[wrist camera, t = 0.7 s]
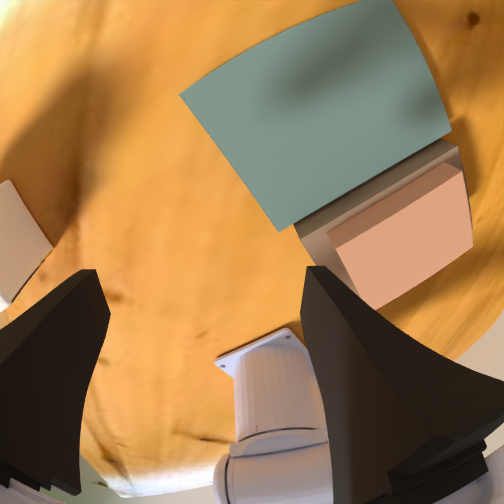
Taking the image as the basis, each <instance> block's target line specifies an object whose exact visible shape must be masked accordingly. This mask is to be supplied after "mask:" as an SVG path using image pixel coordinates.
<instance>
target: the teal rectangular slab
mask: <svg viewBox="0 0 504 504" xmlns="http://www.w3.org/2000/svg"><path fill="white" fill-rule="evenodd" d="M179 96H180V97H181V98H182V100H183V101H184V102H185V104H186V105H187V106H188V107H189V109H190V110H191V111H192V113H193V114H194V115H195V117H196V118H197V119H198V121H199V122H200V123H201V125H202V126H203V127H204V129H205V130H206V131H207V133H208V134H209V135H210V137H211V138H212V140H213V141H214V142H215V144H216V145H217V146H218V148H219V149H220V150H221V152H222V153H223V155H224V156H225V157H226V159H227V160H228V161H229V163H230V164H231V166H232V167H233V168H234V170H235V171H236V172H237V174H238V175H239V177H240V178H241V179H242V181H243V182H244V184H245V185H246V186H247V188H248V189H249V191H250V192H251V194H252V195H253V196H254V198H255V199H256V201H257V202H258V203H259V205H260V206H261V208H262V209H263V211H264V212H265V213H266V215H267V216H268V218H269V219H270V221H271V222H272V224H273V225H274V226H275V228H276V229H277V231H278V232H280V231H282V230H283V229H285V228H287V227H288V226H290V225H292V224H293V223H295V222H297V221H299V220H300V219H302V218H304V217H305V216H307V215H309V214H310V213H312V212H314V211H316V210H317V209H319V208H321V207H322V206H324V205H326V204H327V203H329V202H331V201H333V200H334V199H336V198H338V197H339V196H341V195H343V194H345V193H346V192H348V191H350V190H351V189H353V188H355V187H356V186H358V185H360V184H362V183H363V182H365V181H367V180H368V179H370V178H372V177H374V176H375V175H377V174H379V173H380V172H382V171H384V170H386V169H387V168H389V167H391V166H392V165H394V164H396V163H398V162H399V161H401V160H403V159H404V158H406V157H408V156H410V155H411V154H413V153H415V152H416V151H418V150H420V149H422V148H423V147H425V146H427V145H428V144H430V143H432V142H434V141H435V140H437V139H439V138H441V137H442V136H444V135H446V134H447V133H449V132H451V131H452V129H451V126H450V123H449V120H448V117H447V113H446V111H445V108H444V105H443V102H442V99H441V97H440V94H439V91H438V89H437V86H436V84H435V81H434V79H433V76H432V74H431V72H430V69H429V67H428V65H427V63H426V60H425V58H424V56H423V54H422V52H421V50H420V48H419V46H418V44H417V42H416V40H415V38H414V36H413V34H412V32H411V31H410V29H409V27H408V25H407V23H406V22H405V20H404V18H403V16H402V15H401V13H400V11H399V10H398V8H397V7H396V5H395V3H394V2H393V0H362V1H358V2H355V3H352V4H349V5H346V6H343V7H341V8H338V9H335V10H332V11H330V12H327V13H325V14H322V15H320V16H317V17H315V18H312V19H310V20H308V21H305V22H303V23H301V24H298V25H296V26H294V27H292V28H290V29H288V30H285V31H283V32H281V33H279V34H277V35H275V36H273V37H271V38H269V39H267V40H265V41H264V42H262V43H260V44H258V45H256V46H254V47H252V48H251V49H249V50H247V51H245V52H243V53H242V54H240V55H238V56H237V57H235V58H233V59H232V60H230V61H228V62H227V63H225V64H223V65H222V66H220V67H219V68H217V69H215V70H214V71H212V72H211V73H209V74H208V75H206V76H205V77H203V78H202V79H200V80H199V81H197V82H196V83H194V84H193V85H192V86H190V87H189V88H187V89H186V90H184V91H183V92H182V93H180V94H179Z"/></svg>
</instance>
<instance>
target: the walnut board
mask: <svg viewBox="0 0 504 504" xmlns="http://www.w3.org/2000/svg"><path fill="white" fill-rule="evenodd" d="M443 162H445V163H447V164H449V165H451V166H453V167H455V168H457V169H459V170H461V171H462V173H463V178H464V183H465V188H466V194H467V199H468V206H469V213H470V220H471V229H472V230H473V225H472V217H471V209H470V203H469V196H468V191H467V185H466V180H465V175H464V170H463V166H462V161H461V157H460V153H459V149H458V146H457V145H455V144H452V143H450V142H447V141H445V140H442V139H437V140H435V141H434V142H432V143H430V144H428V145H427V146H425V147H423V148H422V149H420V150H418V151H416V152H415V153H413V154H411V155H410V156H408V157H406V158H404V159H403V160H401V161H399V162H398V163H396V164H394V165H392V166H391V167H389V168H387V169H386V170H384V171H382V172H380V173H379V174H377V175H375V176H374V177H372V178H370V179H368V180H367V181H365V182H363V183H362V184H360V185H358V186H356V187H355V188H353V189H351V190H350V191H348V192H346V193H345V194H343V195H341V196H339V197H338V198H336V199H334V200H333V201H331V202H329V203H327V204H326V205H324V206H322V207H321V208H319V209H317V210H316V211H314V212H312V213H310V214H309V215H307V216H305V217H304V218H302V219H300V220H299V221H297V222H295V223H293V224H294V227H295V229H296V232H297V234H298V236H299V239H300V241H301V242H302V244H303V245H304V247H305V248H306V250H307V252H308V253H309V255H310V256H311V258H312V260H313V261H314V263H315V264H316V266H326V267H327V268H328V269H329V270H330V271H331V272H333V273H334V274H335V275H336V276H337V277H338V278H339V279H340V280H341V281H342V282H343V283H345V284H346V285H347V286H348V287H349V288H350V289H351V290H352V291H353V292H354V293H356V294H357V295H358V296H359V294H358V292H357V290H356V288H355V286H354V284H353V282H352V280H351V278H350V276H349V274H348V272H347V270H346V268H345V267H344V265H343V263H342V261H341V259H340V257H339V255H338V253H337V252H336V250H335V248H334V246H333V244H332V242H331V241H330V239H329V237H328V235H327V232H329V231H330V230H332V229H334V228H335V227H337V226H339V225H341V224H342V223H344V222H346V221H347V220H349V219H351V218H352V217H354V216H356V215H358V214H359V213H361V212H363V211H364V210H366V209H368V208H369V207H371V206H373V205H374V204H376V203H378V202H379V201H381V200H383V199H384V198H386V197H388V196H389V195H391V194H393V193H394V192H396V191H398V190H399V189H401V188H403V187H404V186H406V185H408V184H409V183H411V182H413V181H414V180H416V179H417V178H419V177H421V176H422V175H424V174H426V173H427V172H429V171H430V170H432V169H434V168H435V167H437V166H439V165H440V164H442V163H443ZM359 297H360V296H359Z"/></svg>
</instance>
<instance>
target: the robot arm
mask: <svg viewBox="0 0 504 504" xmlns="http://www.w3.org/2000/svg"><path fill="white" fill-rule="evenodd" d="M110 315H111V313H110V310H109V307H108V305H107V302H106V299H105V296H104V293H103V290H102V287H101V285H100V282H99V278H98V275H97V272H96V269H82V270H80V271H78V272H77V273H75V274H73V275H72V276H71V277H69V278H68V279H66V280H65V281H64V282H62V283H61V284H60V285H59V286H57V287H56V288H55V289H53V290H52V291H51V292H50V293H48V294H47V295H46V296H45V297H43V298H42V299H41V300H40V301H38V302H37V303H36V304H34V305H33V306H32V307H30V308H29V309H28V310H27V311H25V312H24V313H23V314H21V315H20V316H19V317H18V318H16V319H15V320H14V321H12V322H11V323H9V324H8V325H6V326H5V327H4V328H2V329H1V330H0V504H66V503H64V502H61V501H59V500H56V499H54V498H51V497H49V496H47V495H45V494H42V493H40V492H39V491H40V487H42V488H44V489H46V490H48V491H50V490H51V487H52V488H54V489H57V490H60V491H62V492H65V493H67V494H70V495H73V496H76V495H78V494H80V493H81V483H80V468H79V447H80V432H81V422H82V415H83V408H84V403H85V397H86V393H87V390H88V386H89V383H90V380H91V377H92V374H93V371H94V368H95V365H96V362H97V360H98V357H99V354H100V351H101V348H102V346H103V343H104V340H105V337H106V333H107V329H108V324H109V320H110ZM300 316H301V322H302V329H303V334H304V339H305V343H306V346H307V348H306V347H305V346H304V345H303V343H302V342H301V341H300V340H299V339H298V338H297V337H296V335H295V334H294V333H293V332H292V331H291V330H290V329H289V328H282V329H280V330H278V331H276V332H274V333H272V334H270V335H268V336H265V337H263V338H261V339H259V340H257V341H255V342H253V343H250V344H248V345H246V346H244V347H241V348H239V349H237V350H235V351H232V352H230V353H228V354H226V355H223V356H221V357H219V358H216V359H215V365H216V366H218V367H219V368H220V369H222V370H223V371H224V372H226V373H227V374H228V375H230V376H231V377H232V378H234V400H235V429H236V443H231V444H230V454H225V455H223V456H222V457H221V459H220V461H219V462H218V463H217V465H216V467H215V470H214V477H213V487H214V495H215V500H216V503H217V504H504V445H503V446H501V447H500V448H499V449H497V450H496V451H494V452H493V453H491V454H490V455H489V456H487V457H486V458H484V457H483V454H482V452H483V451H484V450H485V449H486V448H487V445H486V443H485V441H484V439H485V438H486V437H487V436H488V435H490V434H491V433H492V432H493V431H494V430H495V429H497V428H498V427H499V426H500V425H501V424H502V423H503V422H504V381H501V380H499V379H495V378H493V377H490V376H487V375H484V374H481V373H479V372H476V371H474V370H471V369H469V368H466V367H465V366H462V365H460V364H458V363H455V362H454V361H452V360H450V359H448V358H446V357H444V356H442V355H440V354H438V353H437V352H435V351H433V350H431V349H429V348H428V347H426V346H424V345H423V344H421V343H419V342H418V341H416V340H415V339H413V338H412V337H410V336H409V335H407V334H406V333H404V332H403V331H401V330H400V329H398V328H397V327H396V326H394V325H393V324H392V323H390V322H389V321H388V320H386V319H385V318H384V317H383V316H381V315H380V314H379V313H378V312H376V311H375V310H374V309H373V308H372V307H370V306H369V305H368V304H367V303H366V302H365V301H363V300H362V299H361V298H360V297H359V296H358V295H357V294H356V293H354V292H353V291H352V290H351V289H350V288H349V287H348V286H347V285H346V284H345V283H343V282H342V281H341V280H340V279H339V278H338V277H337V276H336V275H335V274H334V273H333V272H331V271H330V270H329V269H328V268H327V267H326V266H307V269H306V276H305V283H304V290H303V296H302V303H301V309H300ZM288 335H289V336H288ZM327 437H328V438H327ZM328 439H329V443H328Z"/></svg>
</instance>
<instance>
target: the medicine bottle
mask: <svg viewBox="0 0 504 504" xmlns="http://www.w3.org/2000/svg"><path fill="white" fill-rule="evenodd" d="M52 251H53V247H52V245H51V243H50V242H49V241H48V239H47V238H46V236H45V235H44V233H43V232H42V231H41V229H40V228H39V226H38V225H37V223H36V222H35V220H34V218H33V217H32V215H31V214H30V212H29V211H28V209H27V207H26V206H25V204H24V203H23V201H22V199H21V198H20V196H19V194H18V192H17V191H16V189H15V187H14V185H13V184H12V182H11V181H10V180H6V181H4V182H3V183H1V184H0V312H2V311H3V310H4V309H6V308H7V307H8V306H10V305H11V304H12V303H13V301H14V300H15V298H16V297H17V296H18V294H19V293H20V291H21V290H22V289H23V287H24V286H25V285H26V283H27V282H28V281H29V280H30V278H31V277H32V276H33V274H34V273H35V272H36V271H37V269H38V268H39V267H40V266H41V264H42V263H43V262H44V261H45V260H46V258H47V257H48V256H49V255H50V254H51V252H52Z"/></svg>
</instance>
